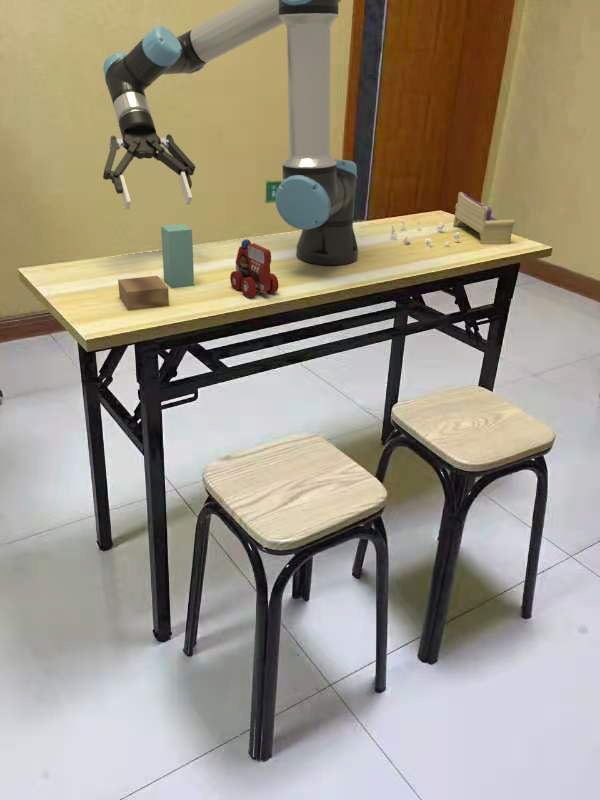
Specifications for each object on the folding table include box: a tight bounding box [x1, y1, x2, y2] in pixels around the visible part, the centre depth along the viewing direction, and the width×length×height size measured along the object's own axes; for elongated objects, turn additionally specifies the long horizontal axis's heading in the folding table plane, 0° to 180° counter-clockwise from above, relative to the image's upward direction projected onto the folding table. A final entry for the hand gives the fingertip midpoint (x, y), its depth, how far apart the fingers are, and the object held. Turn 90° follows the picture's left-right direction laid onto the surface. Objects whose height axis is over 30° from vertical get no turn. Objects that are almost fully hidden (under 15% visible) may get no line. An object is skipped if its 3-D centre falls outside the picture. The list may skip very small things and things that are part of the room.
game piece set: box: [390, 219, 461, 249], centre depth 187 cm, size 19×20×4 cm
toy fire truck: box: [230, 239, 280, 298], centre depth 143 cm, size 7×12×10 cm, turn 33°
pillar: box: [160, 223, 195, 289], centre depth 144 cm, size 5×5×12 cm
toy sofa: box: [452, 191, 516, 246], centre depth 191 cm, size 21×9×10 cm, turn 11°
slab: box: [117, 275, 170, 312], centre depth 136 cm, size 8×8×4 cm
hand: (159, 203), depth 148 cm, fingers open, 13 cm apart
